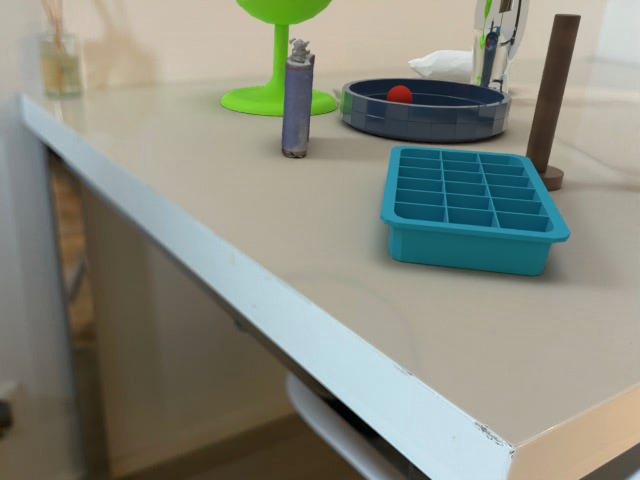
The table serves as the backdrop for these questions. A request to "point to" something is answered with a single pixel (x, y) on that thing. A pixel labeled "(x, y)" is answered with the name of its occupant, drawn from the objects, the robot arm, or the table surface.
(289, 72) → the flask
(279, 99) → the wineglass
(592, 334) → the table surface
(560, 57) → the wooden towel stand
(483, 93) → the bowl
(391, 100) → the cherry tomato
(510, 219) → the ice cube tray
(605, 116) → the table surface
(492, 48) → the beer glass
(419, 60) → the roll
